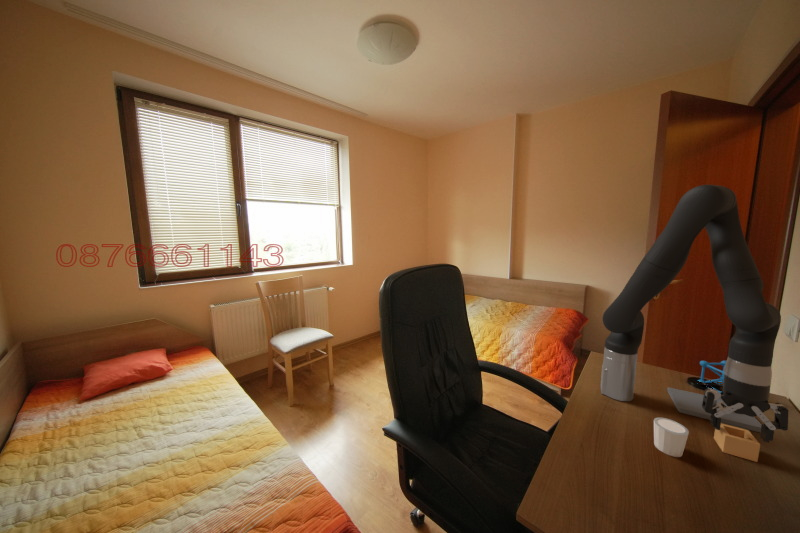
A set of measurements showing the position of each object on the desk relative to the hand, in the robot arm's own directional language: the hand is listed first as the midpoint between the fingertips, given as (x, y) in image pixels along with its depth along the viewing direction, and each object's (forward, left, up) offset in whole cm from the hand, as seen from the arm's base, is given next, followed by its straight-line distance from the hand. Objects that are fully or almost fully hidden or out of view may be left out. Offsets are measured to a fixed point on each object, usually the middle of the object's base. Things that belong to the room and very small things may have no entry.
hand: (739, 434), depth 73 cm
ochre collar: (0, 0, -5) cm, 5 cm away
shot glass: (-15, -9, -5) cm, 18 cm away
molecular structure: (+9, +37, -5) cm, 39 cm away
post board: (+1, +20, -5) cm, 21 cm away
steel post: (+1, +20, -3) cm, 21 cm away
